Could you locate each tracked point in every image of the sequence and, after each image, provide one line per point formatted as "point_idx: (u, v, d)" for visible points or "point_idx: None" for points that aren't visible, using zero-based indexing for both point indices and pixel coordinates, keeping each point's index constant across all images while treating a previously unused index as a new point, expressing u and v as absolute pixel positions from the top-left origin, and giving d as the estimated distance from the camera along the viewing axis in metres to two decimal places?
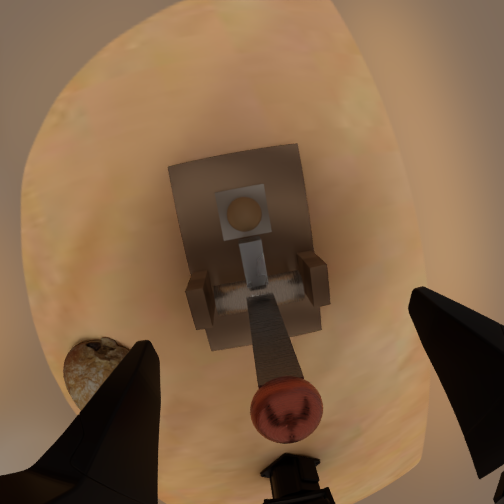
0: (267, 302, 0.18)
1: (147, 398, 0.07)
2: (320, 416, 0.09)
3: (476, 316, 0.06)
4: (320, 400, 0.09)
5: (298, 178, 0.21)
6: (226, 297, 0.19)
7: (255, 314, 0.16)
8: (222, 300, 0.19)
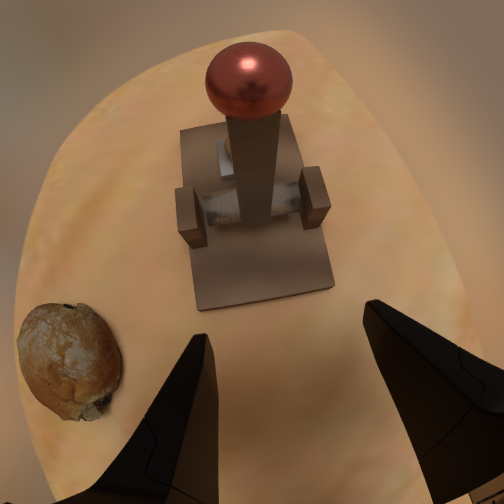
0: None
1: (210, 394, 0.07)
2: (284, 59, 0.07)
3: (430, 336, 0.06)
4: None
5: (289, 136, 0.23)
6: (215, 194, 0.18)
7: None
8: (211, 197, 0.18)
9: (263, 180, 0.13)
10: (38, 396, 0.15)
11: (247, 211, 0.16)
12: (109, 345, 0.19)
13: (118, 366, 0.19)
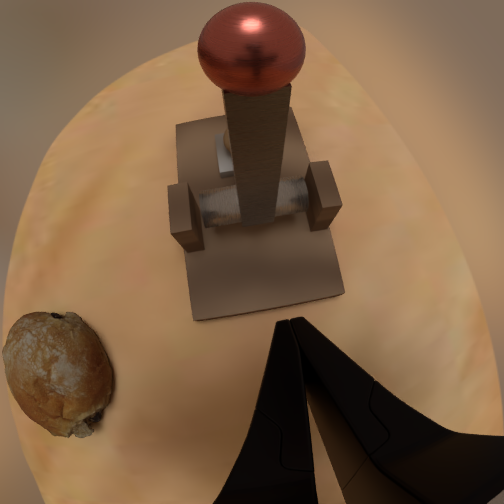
0: None
1: None
2: (295, 22, 0.05)
3: (344, 365, 0.06)
4: None
5: (294, 130, 0.22)
6: (213, 191, 0.16)
7: None
8: (207, 194, 0.16)
9: (267, 173, 0.11)
10: (25, 411, 0.12)
11: (248, 210, 0.14)
12: (98, 359, 0.17)
13: (110, 381, 0.17)
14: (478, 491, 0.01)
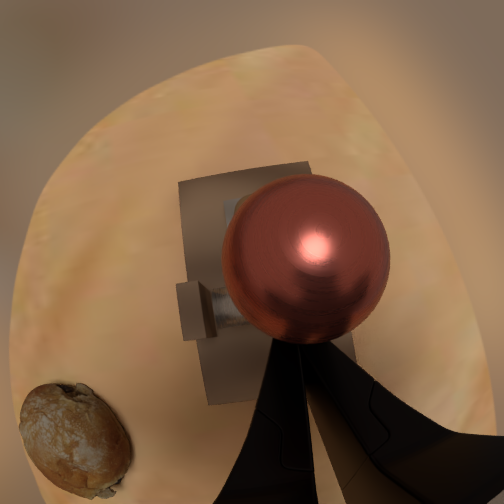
0: None
1: None
2: (384, 230, 0.04)
3: (345, 365, 0.06)
4: None
5: None
6: (227, 294, 0.14)
7: None
8: (221, 297, 0.14)
9: None
10: (50, 480, 0.11)
11: None
12: (116, 436, 0.15)
13: (128, 452, 0.16)
14: (478, 491, 0.01)
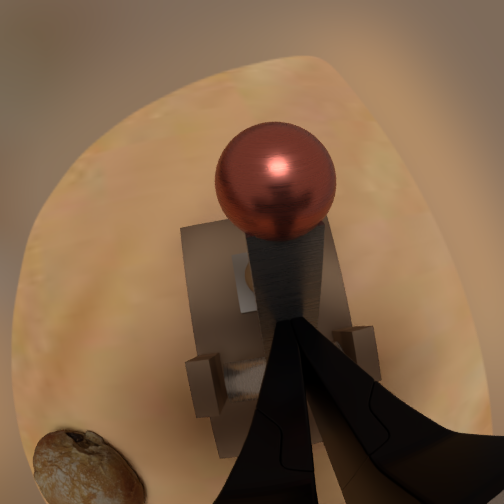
0: None
1: None
2: (321, 143, 0.06)
3: (344, 365, 0.06)
4: None
5: (327, 241, 0.19)
6: (239, 364, 0.14)
7: None
8: (233, 366, 0.13)
9: None
10: None
11: None
12: (131, 484, 0.14)
13: (142, 495, 0.14)
14: (478, 491, 0.01)
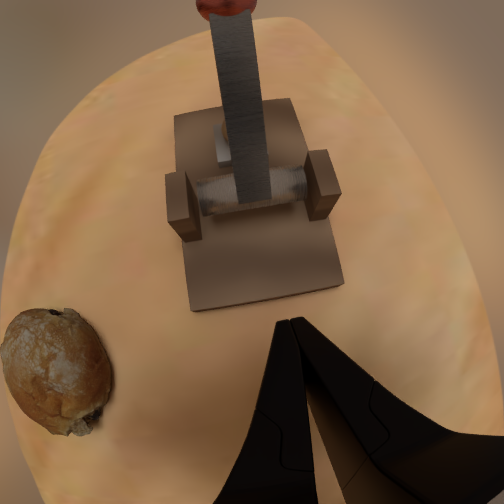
0: None
1: None
2: None
3: (344, 365, 0.06)
4: None
5: (293, 120, 0.21)
6: (211, 177, 0.16)
7: None
8: (205, 178, 0.16)
9: (250, 100, 0.12)
10: (24, 410, 0.12)
11: (241, 166, 0.14)
12: (97, 356, 0.16)
13: (109, 378, 0.17)
14: (478, 491, 0.01)
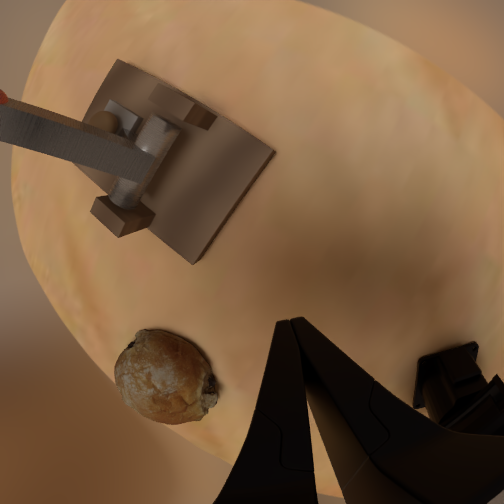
0: None
1: None
2: None
3: (345, 365, 0.06)
4: None
5: (133, 72, 0.18)
6: (114, 182, 0.17)
7: None
8: (111, 187, 0.17)
9: (68, 136, 0.11)
10: (169, 423, 0.22)
11: (113, 167, 0.14)
12: (174, 346, 0.23)
13: (195, 352, 0.24)
14: (478, 491, 0.01)
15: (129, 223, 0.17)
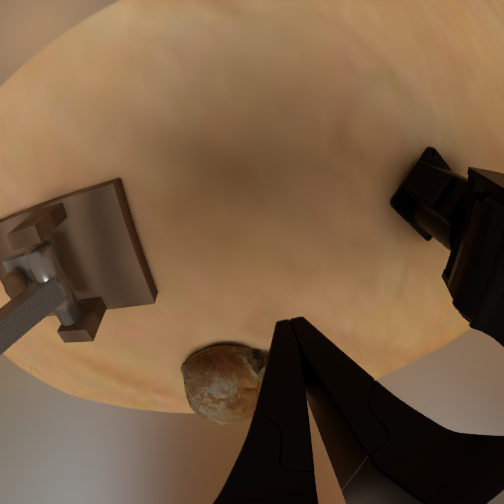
0: None
1: None
2: None
3: (345, 365, 0.06)
4: None
5: None
6: None
7: None
8: None
9: (1, 329, 0.12)
10: None
11: (41, 312, 0.15)
12: (207, 359, 0.25)
13: (224, 348, 0.26)
14: (478, 491, 0.01)
15: (89, 325, 0.18)
